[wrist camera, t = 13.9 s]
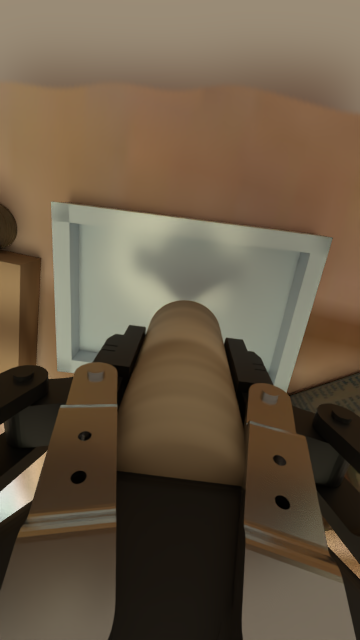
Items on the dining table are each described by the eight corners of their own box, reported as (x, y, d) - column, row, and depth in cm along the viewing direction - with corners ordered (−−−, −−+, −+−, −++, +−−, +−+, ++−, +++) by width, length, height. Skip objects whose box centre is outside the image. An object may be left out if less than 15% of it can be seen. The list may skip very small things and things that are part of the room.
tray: (274, 379, 23) (284, 398, 20) (71, 354, 23) (57, 370, 20) (315, 234, 19) (332, 237, 16) (68, 202, 19) (51, 201, 16)
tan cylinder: (213, 370, 15) (241, 573, 7) (145, 361, 15) (87, 554, 7) (226, 305, 14) (280, 456, 5) (151, 295, 14) (89, 432, 5)
